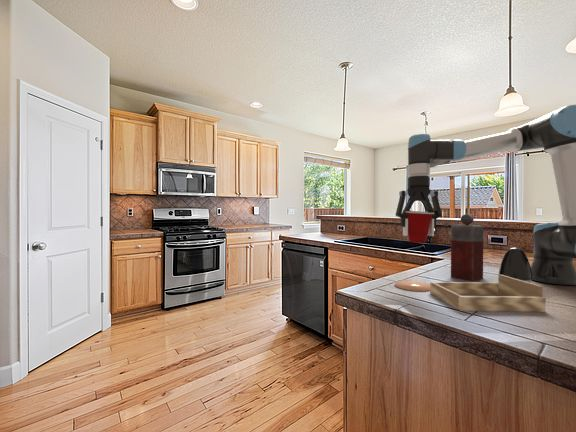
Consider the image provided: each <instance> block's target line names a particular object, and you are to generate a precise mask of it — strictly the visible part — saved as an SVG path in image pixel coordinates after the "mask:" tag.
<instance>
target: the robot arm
mask: <svg viewBox="0 0 576 432" xmlns="http://www.w3.org/2000/svg"><path fill="white" fill-rule="evenodd" d="M407 145H408V146H407V160H408V161H407V164H408V165H407V176H408V178H407V190H400V191H399V199H398V204H397V207H396V212H395V217H398V218H399V219H400V227H401V228H402V236H405V237H407V236H408V219H406V216H407V213H406V211H411V209H412V206H413V204H414V203H415V202H417V201H418V202H421V203H423V205H424V207H425V209H426V212H428V213H434V214H433V216H432V218H431V222H430V227H429V232H428V235H427V237H435V228H436V227H437V220H438V219H439V218H441V217H442V216H443V215H442V211H441V205H440V201H439V191H438V190H431V189H430V185H431V178H430V174H431V168H435V167H437V166H441V165H446V164H450V163H455V162H456V163H457V162H460V161H465V160H470V159H475V158H480V157H484V156H488V155H490V156H491V155H494V154H500V153H504V152H509V151H510V152H512V153H516V152H520V151H521V152H522V151H528V150H537V149H543V151H544V152H545V153H547V154H550V157H551V163H552V168H553V174H554V180H555V184H556V189H557V194H558V200H559V204H560V210H561V215H562V216H561V217H562V219H561V220H560V221H559V222H544V223H543V222H542V223H538V224H535V225H534V226H533V231H532V236H533V237H532V239H533V241H532V242H533V243H532V244H533V246H532V247H533V259H532V262H531V264H530V267H531V271H532V280H531V281H536V282H541V283H546V284H547V283H548V284H554V285H563V286H564V285H565V286H568V285H569V286H575V285H576V267H575V264H574V259H576V104H568V105H565V106H563V107H560V108H557V109H555V110H553V111H552V112H549V113H547V114H545V115H543V116H540V117H538V118H535V119H534V120H532V121H529V122H528V123H527V122H526V123H524V124H523V125H519V126H517V127H512V128H511V127H510V129H508V130H507V131H504V132H501V133H496V134H491V135H487V136H482V137H477V138H473V139H469V140H463V139H455V138H454V139H431V135H430V134H429V133H416V134H414V135H413V134H412V135H411V136H410V137H409V138H408V144H407ZM429 195H430V197H431V201H430V198H429ZM407 196H409V197H408V199H407V202H406V204H405V201H406V197H407ZM431 203H432V204H431ZM404 205H405V206H404ZM403 208H404V209H403ZM408 237H409V236H408Z"/></svg>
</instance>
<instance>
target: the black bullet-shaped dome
mask: <svg viewBox="0 0 576 432" xmlns="http://www.w3.org/2000/svg"><path fill="white" fill-rule="evenodd" d="M499 275H505V276H508V277H512V278H515V279H519V280H522V281H526V282H529V283H532V281H533V280H532V271H531V264H530V261H529V258H528V256H527V255H526V253H525V251H524V250H523V249H521V248H519V247H516V246H515V247H513V246H512V247H510V248H508V249H507V250H506V251H505V252H504V254H503V256H502V258H501V262H500V265H499V269H498V276H499Z"/></svg>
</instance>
